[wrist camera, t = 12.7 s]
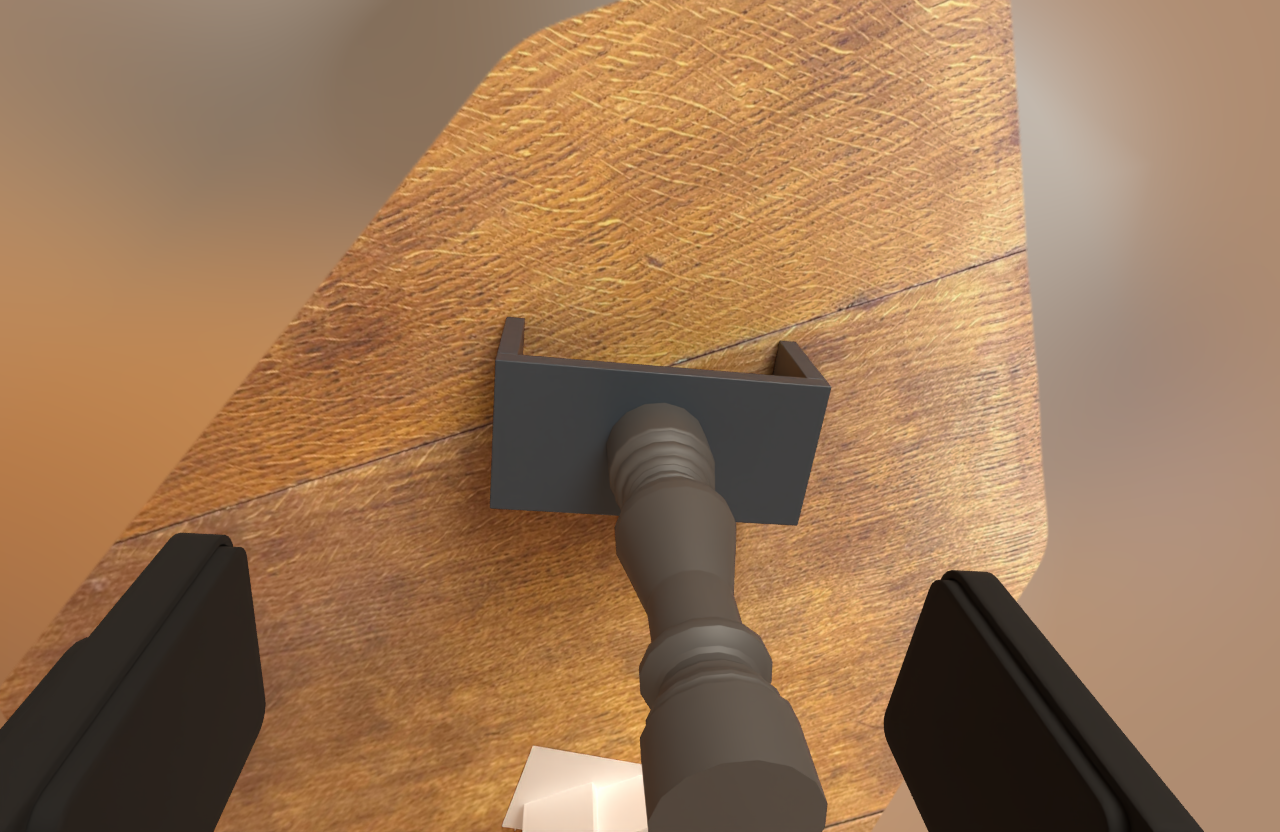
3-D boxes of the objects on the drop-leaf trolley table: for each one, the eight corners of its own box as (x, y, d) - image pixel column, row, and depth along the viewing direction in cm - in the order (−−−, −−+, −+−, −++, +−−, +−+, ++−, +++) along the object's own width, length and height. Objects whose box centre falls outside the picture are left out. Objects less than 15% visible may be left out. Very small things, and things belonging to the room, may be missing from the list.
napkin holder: (501, 828, 71) (495, 888, 66) (531, 745, 67) (527, 802, 61) (649, 848, 74) (654, 907, 69) (687, 770, 70) (696, 827, 65)
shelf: (500, 448, 54) (489, 508, 46) (506, 316, 49) (495, 359, 42) (768, 466, 56) (797, 526, 49) (796, 341, 52) (831, 386, 45)
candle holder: (613, 396, 44) (656, 749, 21) (715, 408, 45) (859, 758, 22) (599, 486, 46) (624, 886, 24) (696, 495, 47) (808, 889, 25)
